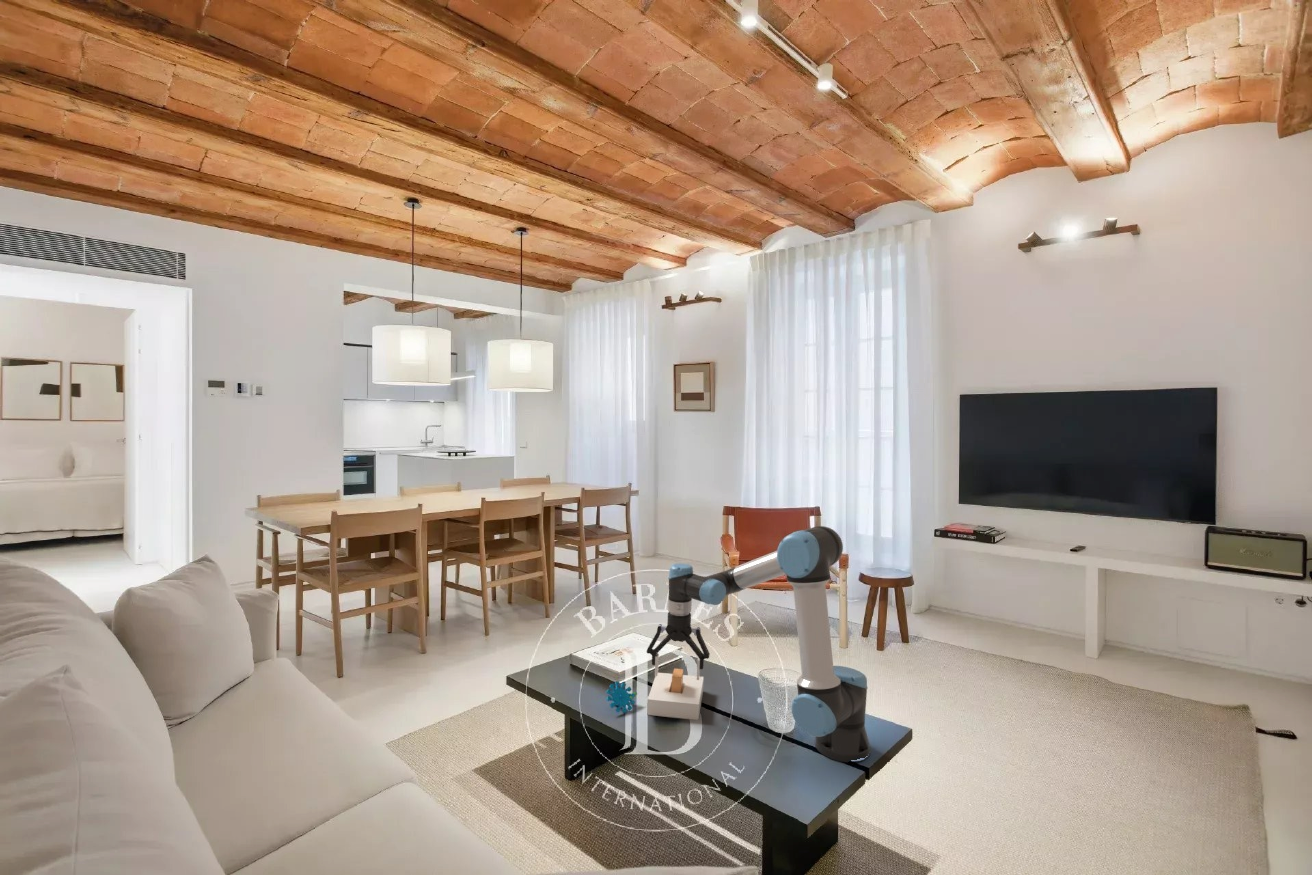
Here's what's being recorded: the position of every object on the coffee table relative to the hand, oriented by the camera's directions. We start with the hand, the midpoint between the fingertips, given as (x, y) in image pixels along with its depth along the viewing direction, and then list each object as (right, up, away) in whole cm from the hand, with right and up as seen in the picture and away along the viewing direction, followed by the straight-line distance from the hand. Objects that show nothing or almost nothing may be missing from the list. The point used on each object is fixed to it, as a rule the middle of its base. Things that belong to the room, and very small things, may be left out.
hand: (677, 676), depth 216 cm
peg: (0, -9, +1) cm, 9 cm away
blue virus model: (-18, -9, -4) cm, 20 cm away
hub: (0, -9, +1) cm, 9 cm away
